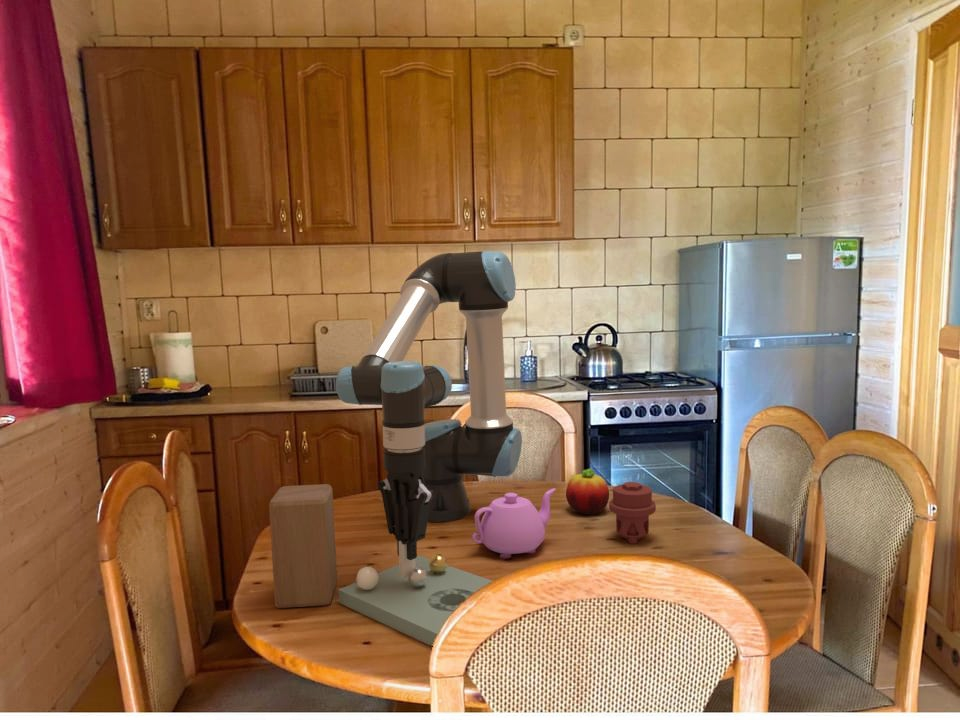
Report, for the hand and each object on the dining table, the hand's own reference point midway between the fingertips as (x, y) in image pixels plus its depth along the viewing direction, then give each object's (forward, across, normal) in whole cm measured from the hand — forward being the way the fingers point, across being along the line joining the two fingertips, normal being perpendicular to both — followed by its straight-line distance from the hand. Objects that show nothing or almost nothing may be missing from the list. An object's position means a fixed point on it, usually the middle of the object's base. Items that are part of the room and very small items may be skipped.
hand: (407, 574), depth 123 cm
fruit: (+4, -1, +60) cm, 61 cm away
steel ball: (0, +2, 0) cm, 2 cm away
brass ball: (0, +1, +7) cm, 7 cm away
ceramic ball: (0, -4, -6) cm, 7 cm away
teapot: (+4, +1, +30) cm, 31 cm away
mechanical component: (+4, +17, +51) cm, 54 cm away
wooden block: (+5, -15, -12) cm, 19 cm away
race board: (+4, +5, +1) cm, 6 cm away
